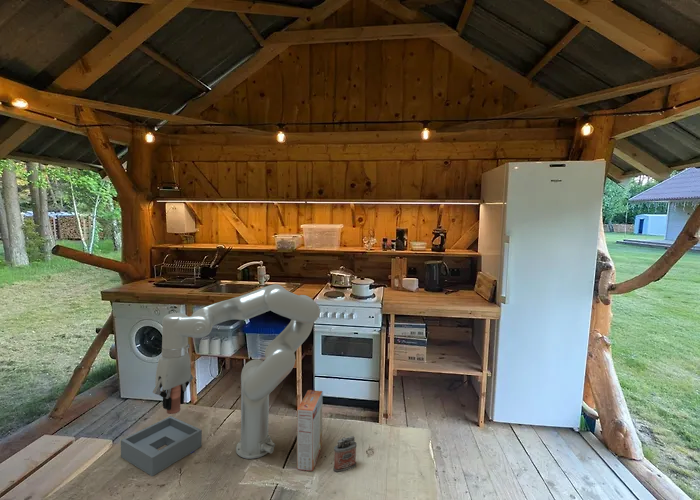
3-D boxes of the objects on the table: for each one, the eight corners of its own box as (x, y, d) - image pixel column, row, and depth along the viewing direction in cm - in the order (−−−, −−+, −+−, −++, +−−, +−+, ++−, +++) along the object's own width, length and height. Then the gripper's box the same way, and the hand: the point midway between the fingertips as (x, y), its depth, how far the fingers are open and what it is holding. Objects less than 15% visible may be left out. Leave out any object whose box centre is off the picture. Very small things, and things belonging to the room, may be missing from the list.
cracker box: (306, 444, 126) (307, 388, 125) (322, 446, 125) (323, 390, 124) (295, 470, 112) (296, 408, 111) (313, 472, 111) (314, 409, 110)
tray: (201, 446, 123) (201, 429, 123) (152, 476, 107) (152, 457, 107) (170, 431, 132) (170, 415, 131) (120, 457, 116) (120, 439, 116)
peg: (182, 409, 114) (183, 380, 114) (171, 415, 110) (172, 384, 110) (175, 406, 116) (175, 377, 115) (163, 411, 112) (164, 382, 112)
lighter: (336, 474, 110) (336, 444, 110) (331, 467, 113) (332, 438, 113) (357, 467, 114) (358, 438, 114) (353, 460, 117) (353, 432, 117)
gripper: (189, 342, 121) (187, 393, 122) (142, 356, 106) (141, 414, 107) (204, 346, 118) (202, 398, 119) (158, 361, 103) (156, 420, 104)
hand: (173, 405), depth 113 cm, fingers closed on peg, 4 cm apart
